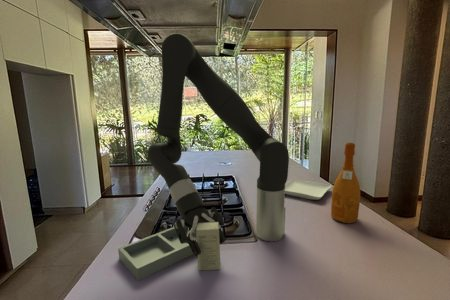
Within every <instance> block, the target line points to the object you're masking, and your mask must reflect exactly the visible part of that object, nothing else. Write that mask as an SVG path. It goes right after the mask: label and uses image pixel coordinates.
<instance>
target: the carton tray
mask: <svg viewBox="0 0 450 300" xmlns="http://www.w3.org/2000/svg"><path fill="white" fill-rule="evenodd" d="M183 228H184V230H185V233H186V235H187V233H188V227H187V226H186V225H184V227H183ZM187 236H188V235H187ZM171 237H173V238H172V239H171ZM194 240H196V232H195V237H194ZM196 242H197V240H196ZM117 251H118V259H119V260H120V261H121V263H122V264H123V265H124V266H125V267H126V269H127V270H128V271H129V272H130V273H131V275H132V276H133V277H134V278H135V279H136V280H137V281H141V280H143V279H145V278H147V277H149V276H152V275H153V274H156V273H157V272H159V271H161V270H163V269H166V268H167V267H168V268H169V266H171V265H173V264H176V263H177V262H180V261H182V260H184V259H186V258H188V257H190V256H193V255H194V254H193V252H192V250H191V248H190V246H189V244H188V243H183V244H181V243H180V241H179V238H178V235H177V233H176V230H175V228H174V226H173V227H170V228H168V229H164V230H162V231H159V232H156V233H155V234H152V235H149V236H147V237H144V238H141V239H138V240H136V241H132V242H131V243H128V244H126V245H125V244H124V245H122V246H120V247H118V249H117Z"/></svg>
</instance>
